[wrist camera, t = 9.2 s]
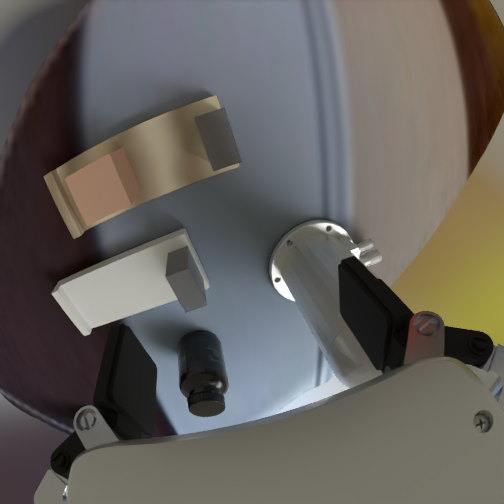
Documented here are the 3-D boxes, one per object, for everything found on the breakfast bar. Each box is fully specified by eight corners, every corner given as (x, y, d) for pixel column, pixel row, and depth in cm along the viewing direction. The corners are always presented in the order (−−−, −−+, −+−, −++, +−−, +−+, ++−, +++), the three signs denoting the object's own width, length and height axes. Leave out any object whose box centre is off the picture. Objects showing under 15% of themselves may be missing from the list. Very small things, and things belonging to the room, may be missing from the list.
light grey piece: (184, 227, 31) (184, 255, 25) (208, 280, 35) (213, 314, 30) (58, 281, 30) (41, 311, 25) (88, 322, 34) (78, 355, 29)
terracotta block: (123, 146, 24) (109, 153, 19) (140, 189, 26) (131, 204, 22) (83, 167, 24) (64, 178, 19) (101, 207, 26) (87, 225, 22)
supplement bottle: (191, 363, 43) (197, 424, 32) (169, 339, 39) (170, 405, 29) (227, 349, 43) (241, 411, 32) (208, 323, 39) (219, 390, 29)
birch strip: (215, 96, 25) (221, 90, 19) (236, 163, 29) (249, 177, 23) (54, 170, 24) (26, 186, 18) (81, 228, 28) (61, 255, 22)
